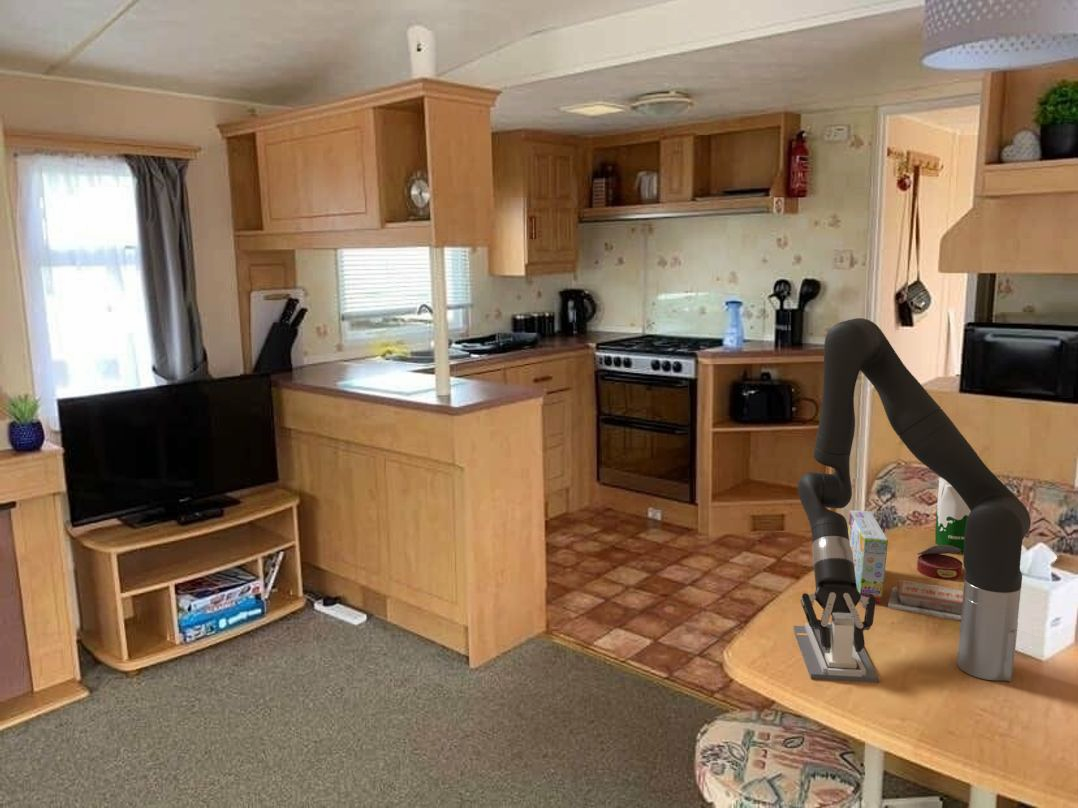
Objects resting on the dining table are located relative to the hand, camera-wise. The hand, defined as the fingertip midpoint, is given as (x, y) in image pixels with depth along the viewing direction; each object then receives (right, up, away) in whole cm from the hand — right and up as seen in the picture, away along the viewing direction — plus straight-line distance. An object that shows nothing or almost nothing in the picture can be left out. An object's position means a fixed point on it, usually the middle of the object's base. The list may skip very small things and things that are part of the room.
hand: (843, 649), depth 154 cm
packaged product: (+31, 0, +29) cm, 42 cm away
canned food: (+41, +4, +49) cm, 64 cm away
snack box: (+20, +3, +42) cm, 47 cm away
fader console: (+1, -4, +9) cm, 9 cm away
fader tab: (0, -3, +2) cm, 4 cm away
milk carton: (+52, +7, +64) cm, 83 cm away
